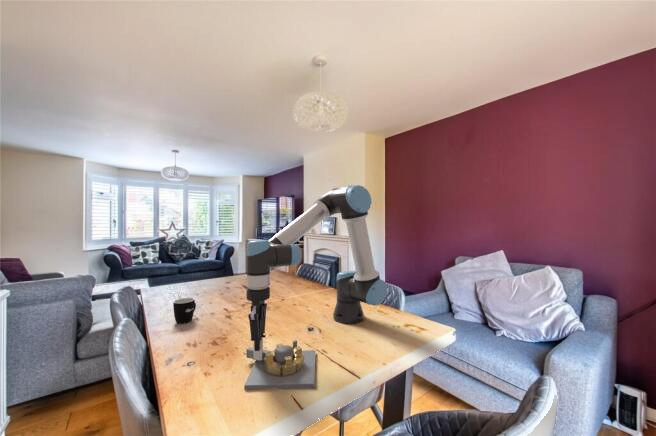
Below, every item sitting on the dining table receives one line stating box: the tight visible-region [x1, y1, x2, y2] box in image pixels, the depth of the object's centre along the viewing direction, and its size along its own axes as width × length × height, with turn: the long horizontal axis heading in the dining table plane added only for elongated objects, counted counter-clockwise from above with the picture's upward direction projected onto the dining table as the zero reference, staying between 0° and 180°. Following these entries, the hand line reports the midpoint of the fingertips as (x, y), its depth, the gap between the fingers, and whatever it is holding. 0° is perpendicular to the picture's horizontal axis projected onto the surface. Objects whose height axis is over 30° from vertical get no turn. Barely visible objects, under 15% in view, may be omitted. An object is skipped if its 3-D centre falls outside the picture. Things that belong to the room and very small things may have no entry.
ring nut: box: [245, 343, 304, 376], centre depth 88 cm, size 20×12×4 cm, turn 70°
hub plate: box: [243, 340, 316, 390], centre depth 87 cm, size 20×20×6 cm
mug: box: [172, 297, 197, 325], centre depth 130 cm, size 12×9×10 cm
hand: (258, 359), depth 88 cm, fingers closed
